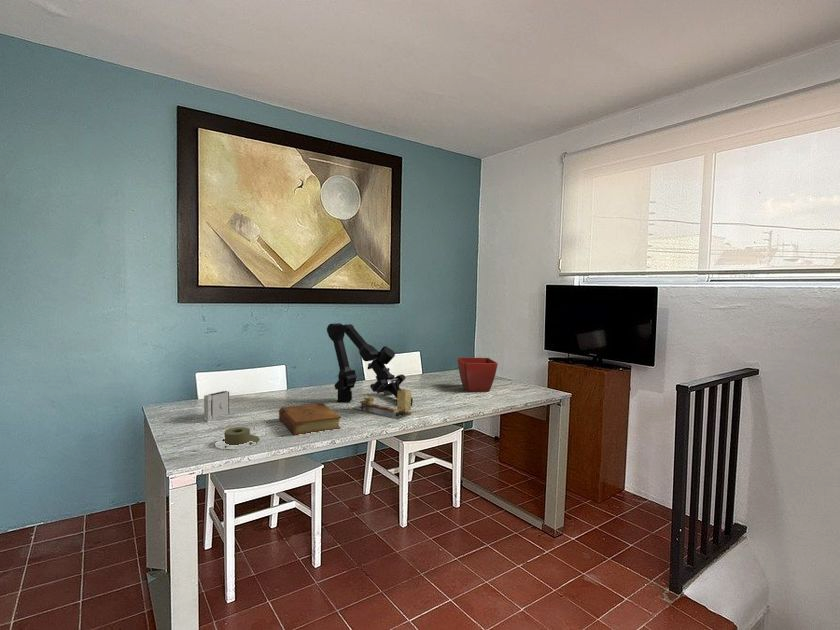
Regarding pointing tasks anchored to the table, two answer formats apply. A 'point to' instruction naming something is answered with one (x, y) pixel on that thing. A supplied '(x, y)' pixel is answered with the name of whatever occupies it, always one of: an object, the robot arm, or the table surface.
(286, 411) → the diary
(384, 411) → the bolt strip
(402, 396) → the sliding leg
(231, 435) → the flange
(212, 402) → the grey rectangular block
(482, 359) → the plant pot
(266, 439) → the table surface
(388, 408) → the trammel bar
